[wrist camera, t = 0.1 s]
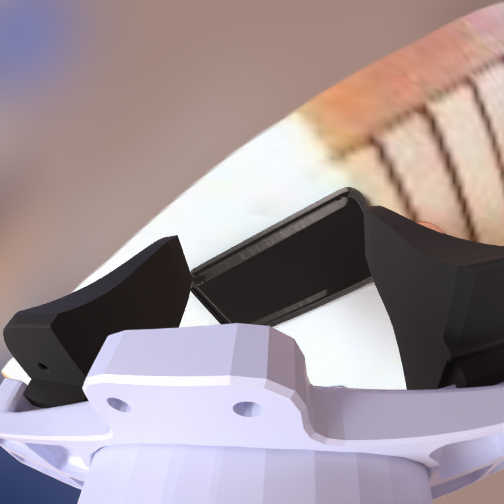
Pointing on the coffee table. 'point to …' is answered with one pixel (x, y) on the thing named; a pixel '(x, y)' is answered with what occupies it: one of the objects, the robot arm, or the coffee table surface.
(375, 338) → the coffee table surface
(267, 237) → the phone
